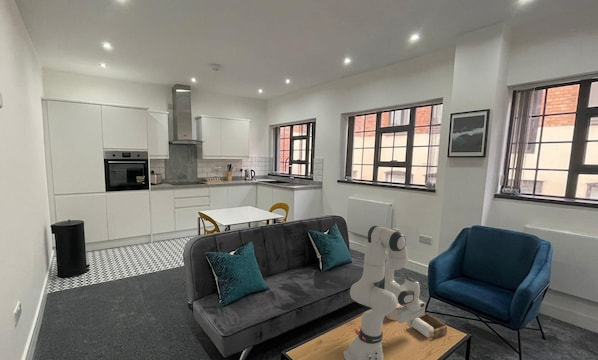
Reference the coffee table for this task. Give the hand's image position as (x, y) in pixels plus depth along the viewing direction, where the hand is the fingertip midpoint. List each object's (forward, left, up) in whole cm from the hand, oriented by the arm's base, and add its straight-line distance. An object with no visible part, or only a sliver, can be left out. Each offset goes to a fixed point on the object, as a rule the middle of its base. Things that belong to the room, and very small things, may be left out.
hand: (410, 325), depth 174 cm
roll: (+10, 0, -3) cm, 11 cm away
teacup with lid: (+5, +21, -7) cm, 22 cm away
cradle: (+17, 0, -7) cm, 19 cm away
